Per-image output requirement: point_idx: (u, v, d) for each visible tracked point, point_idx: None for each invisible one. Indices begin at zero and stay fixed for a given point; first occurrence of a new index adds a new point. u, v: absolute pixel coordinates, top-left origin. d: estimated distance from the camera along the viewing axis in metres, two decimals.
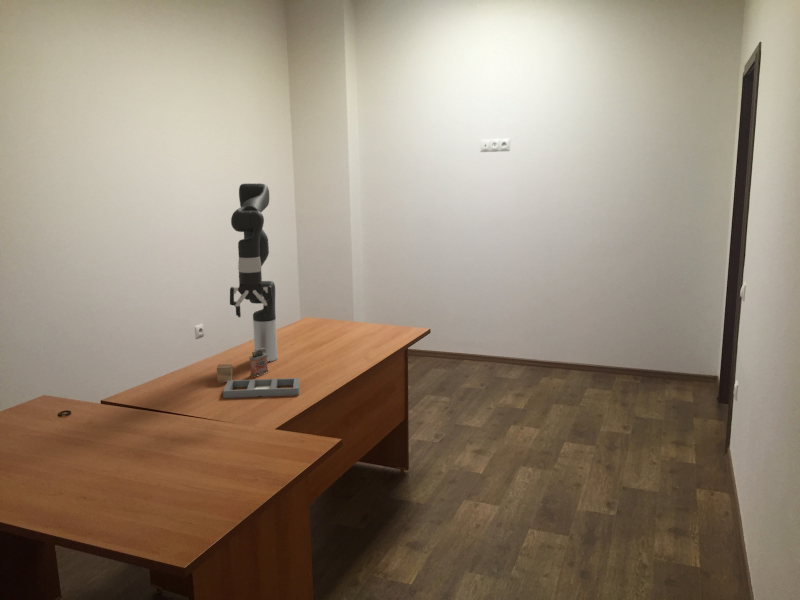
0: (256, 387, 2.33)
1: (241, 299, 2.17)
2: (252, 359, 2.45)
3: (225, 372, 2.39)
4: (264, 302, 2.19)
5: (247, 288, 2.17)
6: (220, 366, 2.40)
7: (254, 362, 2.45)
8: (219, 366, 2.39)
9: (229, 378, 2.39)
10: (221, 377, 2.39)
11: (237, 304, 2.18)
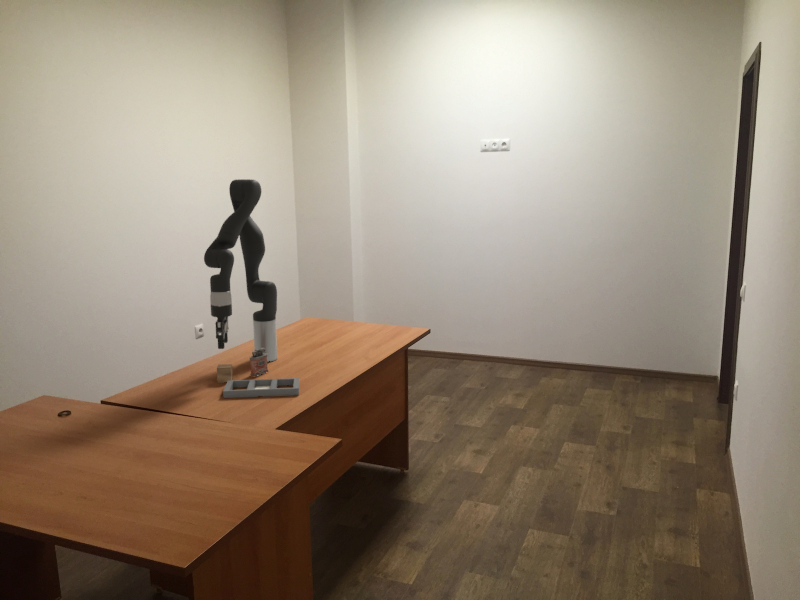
0: (256, 387, 2.33)
1: (225, 330, 2.34)
2: (252, 359, 2.45)
3: (225, 372, 2.39)
4: (227, 329, 2.42)
5: (224, 319, 2.36)
6: (220, 366, 2.40)
7: (254, 362, 2.45)
8: (219, 366, 2.39)
9: (229, 378, 2.39)
10: (221, 377, 2.39)
11: (224, 336, 2.33)
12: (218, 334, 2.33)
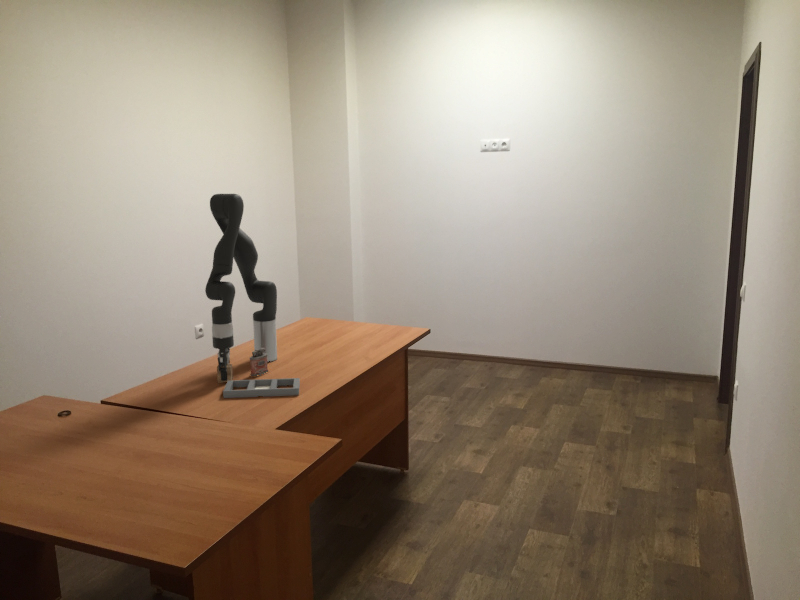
0: (256, 387, 2.33)
1: (228, 362, 2.38)
2: (252, 359, 2.45)
3: None
4: (228, 363, 2.43)
5: (226, 351, 2.38)
6: None
7: (254, 362, 2.45)
8: None
9: (229, 378, 2.39)
10: None
11: (226, 368, 2.38)
12: (221, 367, 2.37)
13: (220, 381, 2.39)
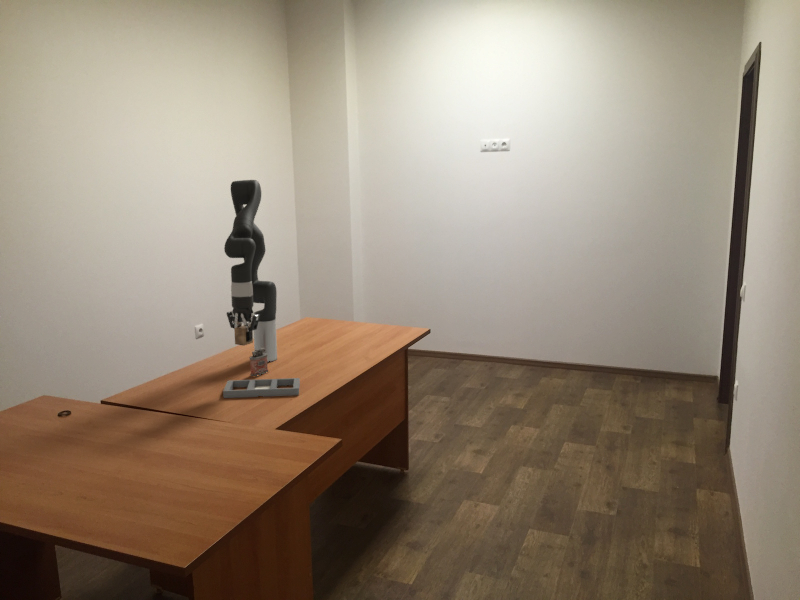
0: (256, 387, 2.33)
1: None
2: (252, 359, 2.45)
3: None
4: None
5: None
6: (240, 328, 2.29)
7: (254, 362, 2.45)
8: (241, 328, 2.29)
9: None
10: None
11: None
12: (248, 327, 2.28)
13: (245, 343, 2.29)
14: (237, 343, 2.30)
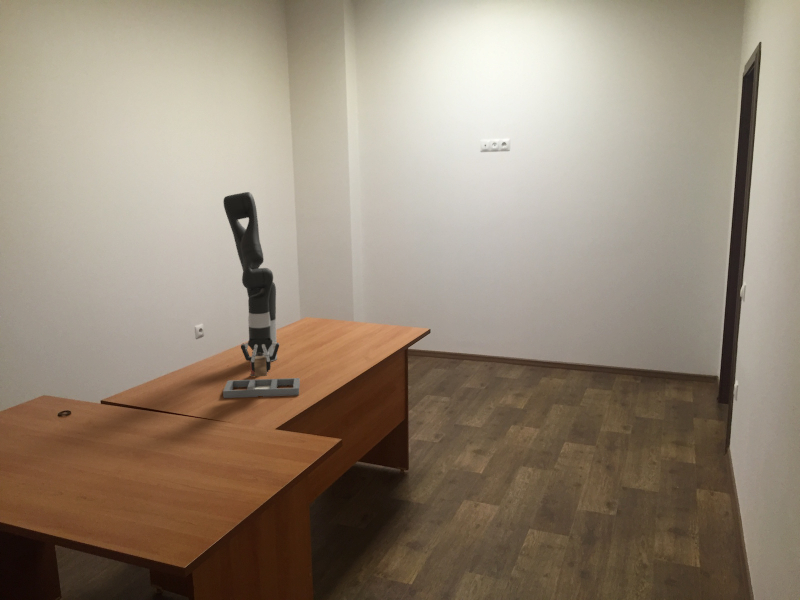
0: (256, 387, 2.33)
1: None
2: None
3: None
4: None
5: None
6: (260, 359, 2.26)
7: None
8: (261, 359, 2.26)
9: None
10: (266, 369, 2.28)
11: None
12: (268, 357, 2.27)
13: (266, 373, 2.28)
14: (258, 374, 2.26)
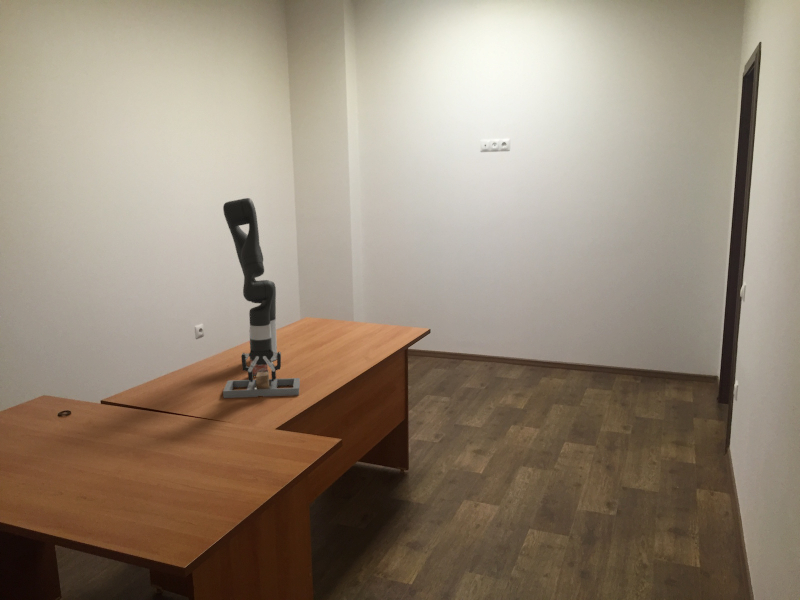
0: (256, 387, 2.33)
1: None
2: None
3: (268, 378, 2.30)
4: None
5: None
6: (262, 375, 2.28)
7: None
8: (263, 375, 2.28)
9: None
10: (268, 385, 2.29)
11: None
12: None
13: None
14: None
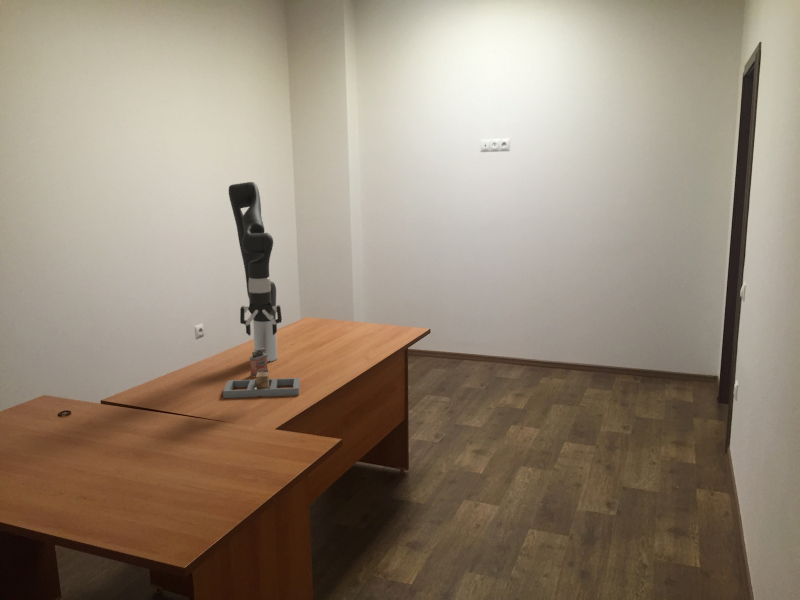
0: (256, 387, 2.33)
1: None
2: (252, 359, 2.45)
3: (268, 378, 2.30)
4: None
5: None
6: (262, 375, 2.28)
7: (254, 362, 2.45)
8: (263, 375, 2.28)
9: None
10: (268, 385, 2.29)
11: None
12: (273, 320, 2.26)
13: None
14: None
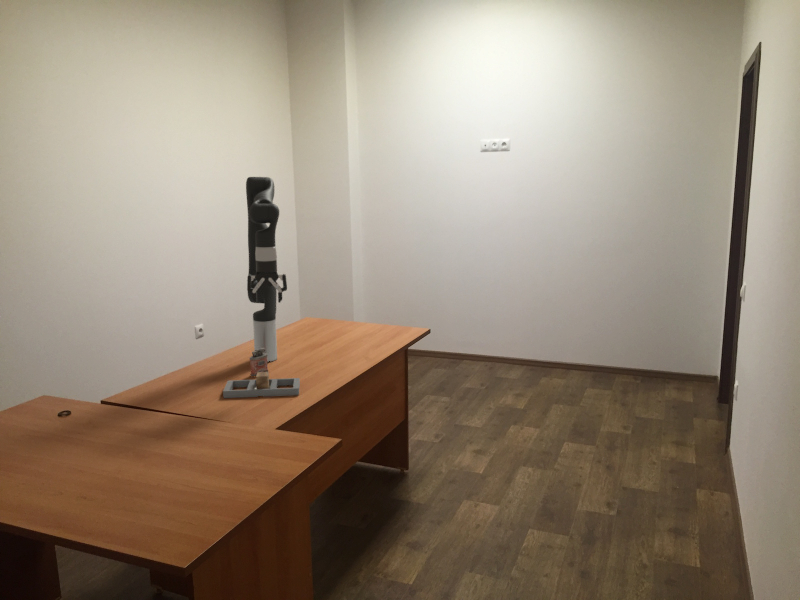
0: (256, 387, 2.33)
1: None
2: (252, 359, 2.45)
3: (268, 378, 2.30)
4: None
5: None
6: (262, 375, 2.28)
7: (254, 362, 2.45)
8: (263, 375, 2.28)
9: None
10: (268, 385, 2.29)
11: None
12: None
13: None
14: None
